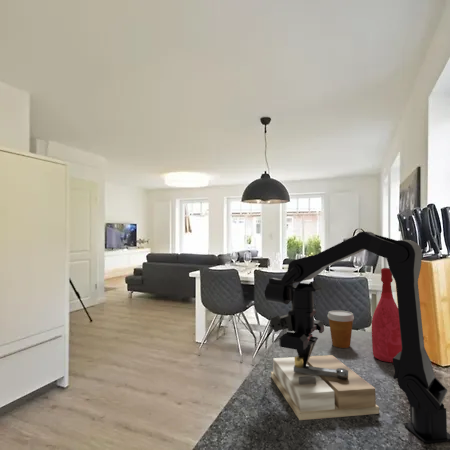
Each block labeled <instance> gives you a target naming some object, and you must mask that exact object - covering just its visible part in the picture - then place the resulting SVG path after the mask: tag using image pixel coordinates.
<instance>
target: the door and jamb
mask: <svg viewBox="0 0 450 450" xmlns="http://www.w3.org/2000/svg"><path fill="white" fill-rule="evenodd" d="M295 357H296V356H291V357H276V358H275V357H273V358H272V368H273V369H272V371H270V378H271V380H273V382H274V384H275V385H276V386H277V389H279V392H280V393H281V394H282V396H283V397H284V399H285V400H286V402H287V404H288V405H289V407H290V408H291V410H292V411H293V412H294V414H295V416H296V417H297V419H298V420H299V421H305V420H307V421H308V420H318V419H320V420H321V419H329V418H330V419H331V418H332V419H333V418H342V417H354V416H367V415H377V414H380V407H379V405H377V403H376V402H377V401H376V399H377V397H376V388H375V387H374V386H373V385H372V384H371V383H370V382H368V381H366V380H365V379H364V378H363V377H361V375H359V374H358V373H356V372H355V371H354V370H352V369H351V368H350V367H348V366H347V365H345V364H344V363H343V362H342V361H341V360H339V359H337V357H335V356H334V355H332V354H328V355H310V357H309V360H308V362H307V365H306V366H311V367H319V368H327V369H335V370H336V369H338V368H343V369H346V370H348V379H346V380H343V379H339V378H337V377H330V376H322V375H314V374H307V373H299V372H294V365H295Z"/></svg>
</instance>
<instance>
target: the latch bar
mask: <svg viewBox="0 0 450 450" xmlns="http://www.w3.org/2000/svg"><path fill="white" fill-rule="evenodd" d="M294 357H295V365H294V372H299V373H307V374H314V375H322V376H330V377H337V378H339V379H343V380H346V379H348V370H346V369H343V368H338V369H336V370H335V369H327V368H319V367H311V366H303V357H301V356H298V355H296V356H294Z"/></svg>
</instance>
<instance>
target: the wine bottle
mask: <svg viewBox="0 0 450 450" xmlns="http://www.w3.org/2000/svg"><path fill="white" fill-rule="evenodd" d="M380 273H381V274H380V275H381V276H380V280H381V283H382V285H381V294H380V297H379V301H378V303H377V306H375V309H374V312H373V315H372V319H371V346H372V355H373V357H374V358H375V359H377V360H379V361H382V362H384V363H385V362H386V363H391V364H393V358H394V357H395V356H396V355H397V354H398V353H399V352H401V351H402V344H401V333H400V323H399V312H398V304H396V301H395V299H394V296H393V291H392V283H393V280H394V278H393V276H392V274H391V272H390V269H389V267H382V268H381V269H380Z"/></svg>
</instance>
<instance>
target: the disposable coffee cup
mask: <svg viewBox="0 0 450 450" xmlns="http://www.w3.org/2000/svg"><path fill="white" fill-rule="evenodd" d="M326 317H327V319H328V323H329V324H328V325H329V331H330V337H331V344H332V346H333V347H335V348H339V349H347V348H351V341H352V340H351V339H352V333H353V323H354V319H355V317H354V313H352V312H350V311H345V310H330V311H328V314H327V316H326Z"/></svg>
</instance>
